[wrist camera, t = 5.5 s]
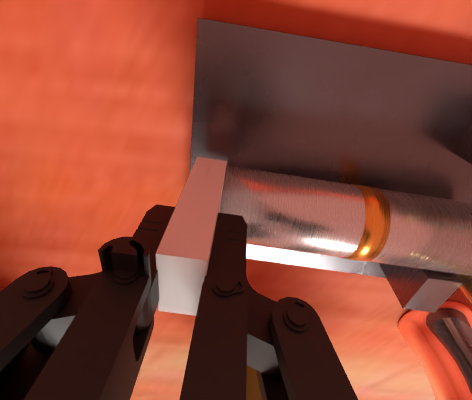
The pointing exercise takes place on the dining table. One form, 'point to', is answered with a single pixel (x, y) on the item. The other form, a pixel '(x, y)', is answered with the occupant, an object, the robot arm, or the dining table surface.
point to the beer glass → (442, 348)
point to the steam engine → (337, 129)
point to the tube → (350, 220)
